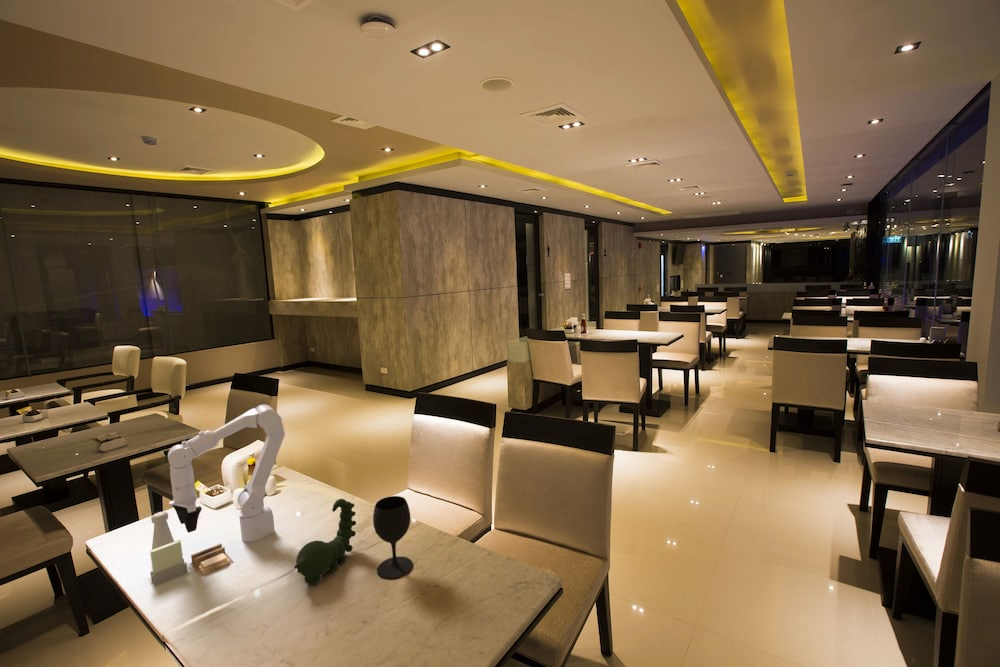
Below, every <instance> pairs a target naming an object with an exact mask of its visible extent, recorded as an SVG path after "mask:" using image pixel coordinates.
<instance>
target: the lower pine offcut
mask: <svg viewBox="0 0 1000 667" xmlns="http://www.w3.org/2000/svg"><path fill="white" fill-rule="evenodd" d="M225 556H226V555H225ZM229 563H230V560H229V559H228V558H227V561H225V562H223V563H221V564H218V565H216V566H214V567H211V568H209V569H206V570H204V569H203V568H202V566H201V565H200V566H199V570H200V571H201V572H202V574H206V573H208V572H211V571H213V570H215V569H218V568H220V567H222V566H225V565H227V564H229ZM229 565H230V564H229ZM227 566H228V565H227ZM225 567H226V566H225ZM222 568H223V567H222ZM220 569H221V568H220ZM218 570H219V569H218ZM215 571H216V570H215ZM213 572H214V571H213ZM211 573H212V572H211ZM208 574H209V573H208ZM206 575H207V574H206Z"/></svg>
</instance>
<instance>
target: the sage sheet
mask: <svg viewBox="0 0 1000 667" xmlns="http://www.w3.org/2000/svg"><path fill="white" fill-rule="evenodd" d="M149 552H150V553H149V554H150V560H151V566H152V567H151V568H152V569H151V570H153V575H154V574H157V573H159V572H162V571H164V570H167V569H169V568H172V567H174V566H177V565H179V564H182V563H183V558H184V557H183V549H182V542H181V540H180V539H178V540H174V542H172V543H169V544H167V545H164V546H161V547H158V548H156V549H153V550H152V549H150V551H149Z"/></svg>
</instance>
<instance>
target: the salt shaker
mask: <svg viewBox="0 0 1000 667" xmlns="http://www.w3.org/2000/svg"><path fill="white" fill-rule="evenodd" d="M168 519H169V514H168V512H167V511H159V512H156V513H154V514H153V515H152V516H151V523H152V524H153V537H152V544H151V550H153V549H156V548H158V547H161V546H164V545H167V544H169V543H172V542H175V540H174V538H173V535H172V532H171V529H170V526H169V524H168V521H167V520H168Z"/></svg>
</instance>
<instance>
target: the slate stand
mask: <svg viewBox="0 0 1000 667" xmlns="http://www.w3.org/2000/svg"><path fill="white" fill-rule="evenodd" d="M149 573H150V577H149V578H148V581H149V583H150V585H151V587H152V588H155V587H158V586H160V585H163V584H164V583H167V582H170V581H172V580H174V579H177V578H179V577H182V576H184V575H186V574H189V573H191V570H190V568H189V567H188V564H187V561H185V559H184V557H183V563H182V564H179V565H177V566H174V567H172V568H169V569H167V570H164V571H162V572H159V573H157V574H154V575H153V569H151V570H150V572H149Z"/></svg>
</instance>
